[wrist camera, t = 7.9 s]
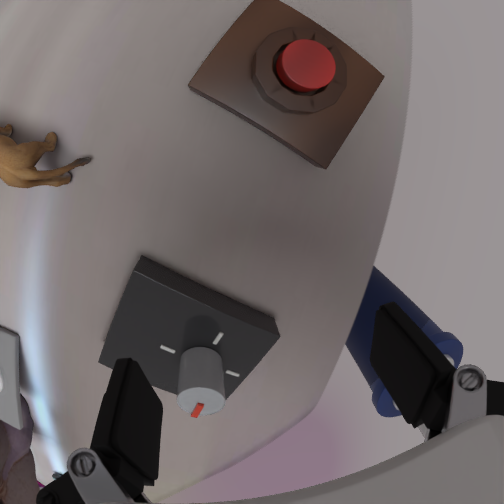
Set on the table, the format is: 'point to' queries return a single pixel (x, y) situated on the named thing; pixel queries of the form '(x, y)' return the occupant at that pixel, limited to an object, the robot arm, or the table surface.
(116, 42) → the table surface
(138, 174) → the table surface
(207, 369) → the knob
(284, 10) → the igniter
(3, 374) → the light switch
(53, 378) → the table surface
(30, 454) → the figurine
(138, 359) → the dark grey dial base
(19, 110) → the table surface
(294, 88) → the button
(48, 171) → the lion figurine
